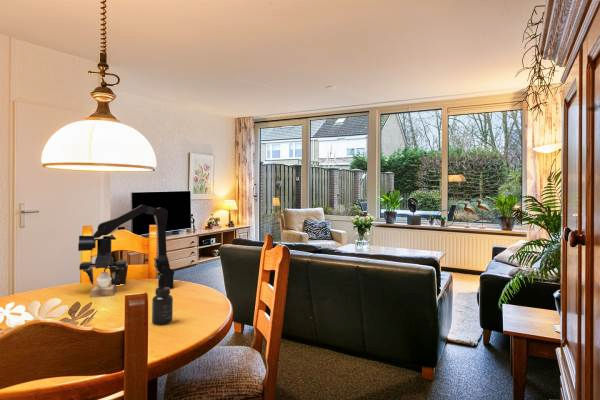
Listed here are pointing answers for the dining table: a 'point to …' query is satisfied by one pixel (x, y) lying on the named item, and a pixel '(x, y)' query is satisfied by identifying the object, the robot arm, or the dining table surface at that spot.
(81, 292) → the dining table surface
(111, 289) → the brown flat block
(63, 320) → the dining table surface
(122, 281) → the coffee mug
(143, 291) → the dining table surface
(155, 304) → the supplement bottle
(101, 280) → the muffin
